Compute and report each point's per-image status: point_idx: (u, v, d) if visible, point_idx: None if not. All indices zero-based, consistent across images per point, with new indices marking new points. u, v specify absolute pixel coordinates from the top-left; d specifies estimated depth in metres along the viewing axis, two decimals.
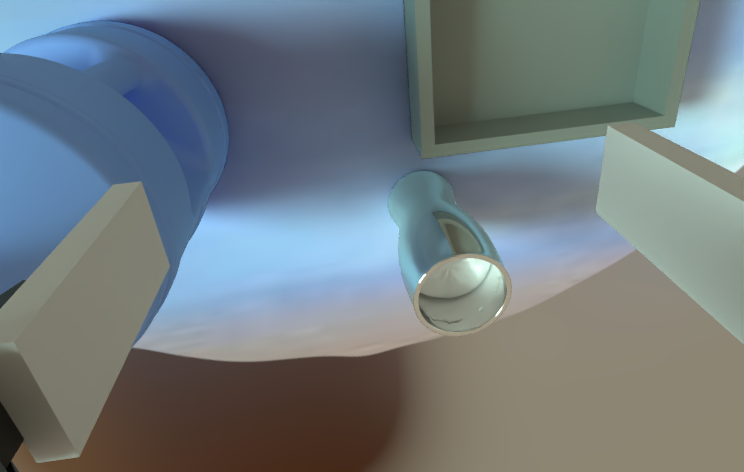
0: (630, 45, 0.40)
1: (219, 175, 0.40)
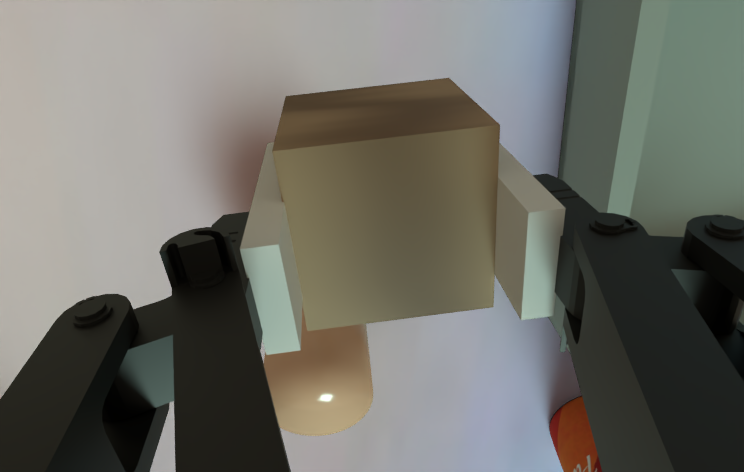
0: None
1: None
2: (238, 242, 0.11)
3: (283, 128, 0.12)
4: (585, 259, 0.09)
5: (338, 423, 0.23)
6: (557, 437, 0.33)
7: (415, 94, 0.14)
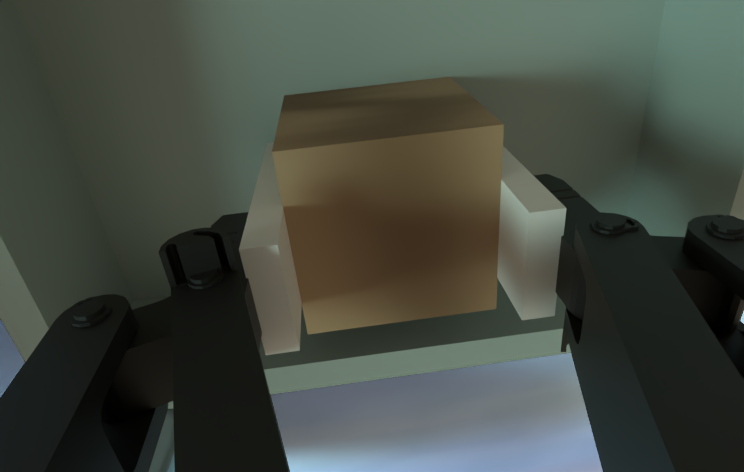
0: (616, 117, 0.16)
1: None
2: (237, 242, 0.11)
3: (282, 128, 0.12)
4: (586, 259, 0.09)
5: None
6: None
7: (416, 93, 0.14)
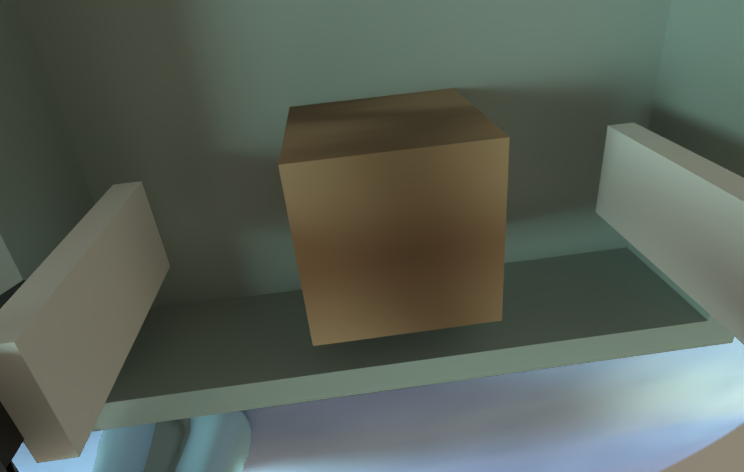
0: None
1: None
2: None
3: (288, 140, 0.12)
4: None
5: None
6: None
7: (421, 105, 0.14)
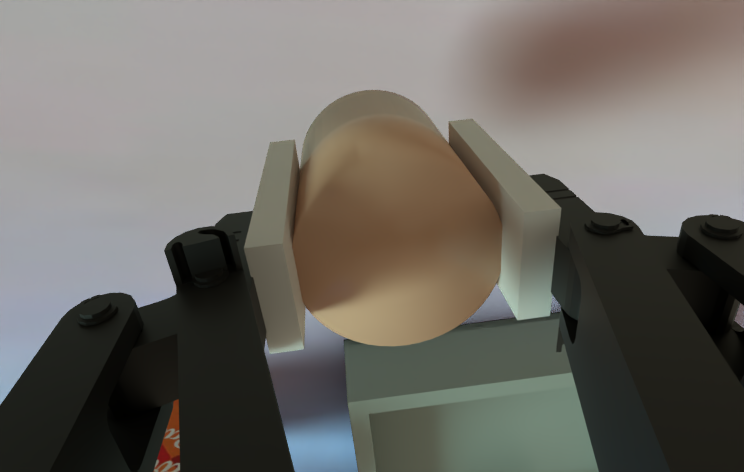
0: None
1: None
2: (242, 241, 0.11)
3: None
4: (581, 260, 0.09)
5: (324, 297, 0.12)
6: None
7: None
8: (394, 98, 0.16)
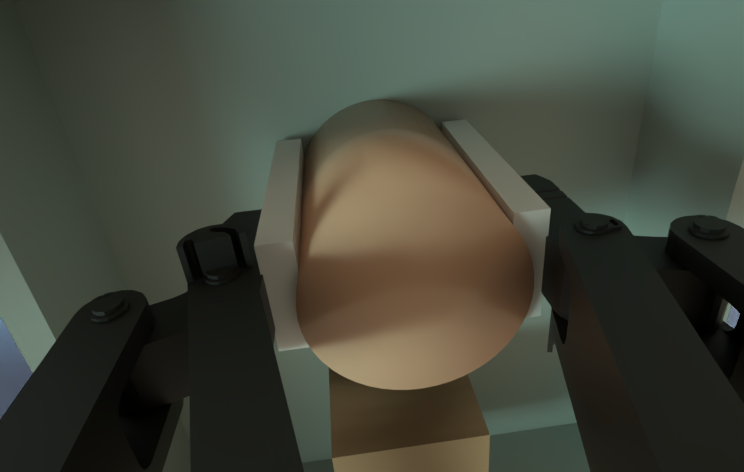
0: None
1: None
2: (250, 239, 0.11)
3: (334, 416, 0.17)
4: (570, 259, 0.09)
5: (334, 341, 0.11)
6: None
7: None
8: (403, 109, 0.15)
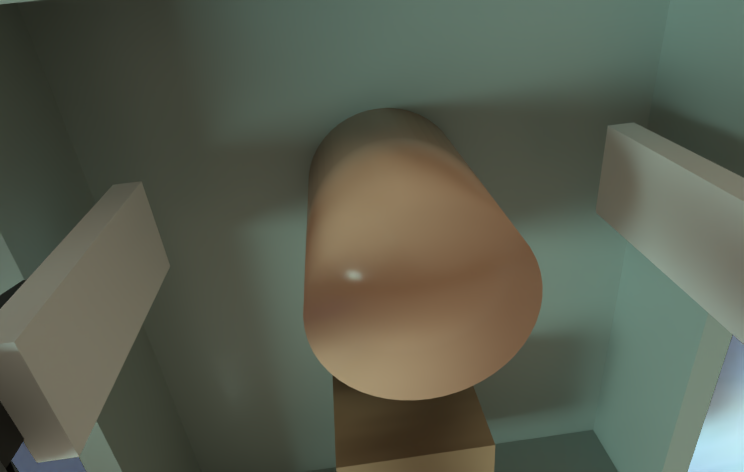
0: (584, 357, 0.21)
1: None
2: None
3: (338, 425, 0.17)
4: None
5: (340, 351, 0.11)
6: None
7: None
8: (410, 118, 0.15)
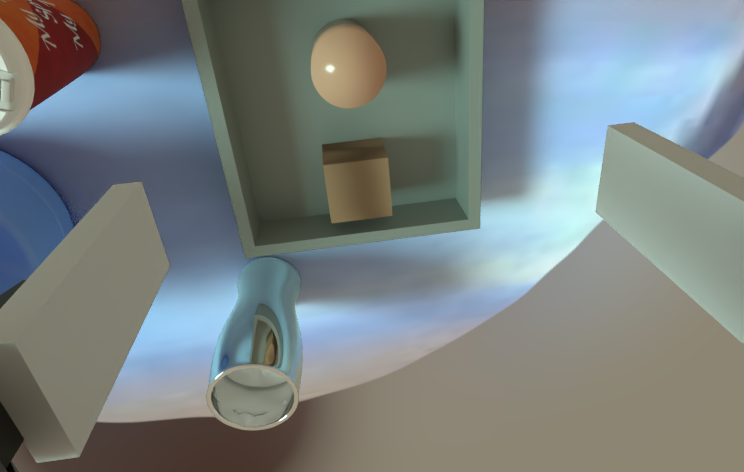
0: (444, 151, 0.44)
1: None
2: None
3: (324, 157, 0.40)
4: None
5: (322, 85, 0.33)
6: None
7: (367, 145, 0.41)
8: (351, 21, 0.37)
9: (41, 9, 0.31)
